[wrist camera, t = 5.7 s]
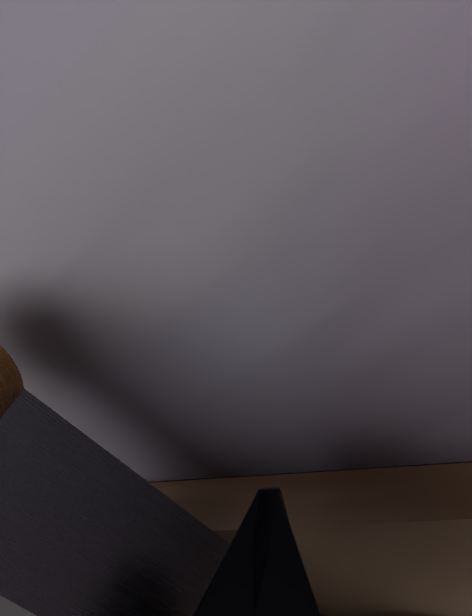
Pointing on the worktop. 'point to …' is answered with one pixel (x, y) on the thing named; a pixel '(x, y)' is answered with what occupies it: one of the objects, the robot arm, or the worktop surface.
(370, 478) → the block
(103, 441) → the worktop surface
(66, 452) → the amber-knobbed lever
